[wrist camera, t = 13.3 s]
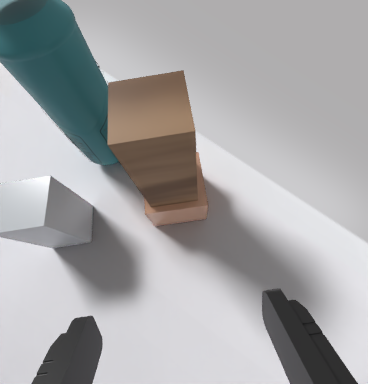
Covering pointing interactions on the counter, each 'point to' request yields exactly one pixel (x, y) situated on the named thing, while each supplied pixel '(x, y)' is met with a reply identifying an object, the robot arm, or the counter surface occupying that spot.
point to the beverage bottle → (57, 71)
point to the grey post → (44, 213)
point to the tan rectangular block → (154, 136)
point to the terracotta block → (181, 206)
